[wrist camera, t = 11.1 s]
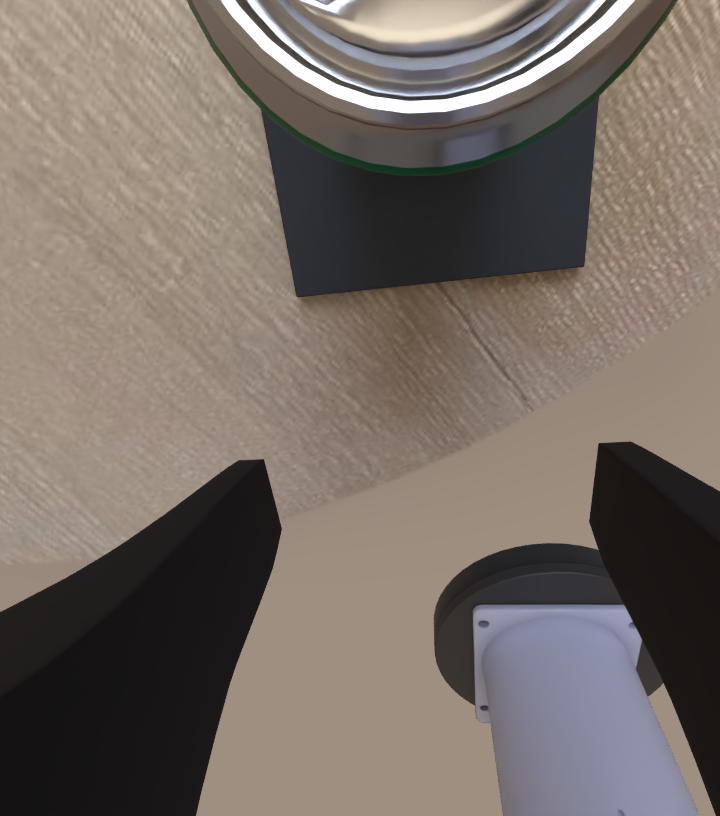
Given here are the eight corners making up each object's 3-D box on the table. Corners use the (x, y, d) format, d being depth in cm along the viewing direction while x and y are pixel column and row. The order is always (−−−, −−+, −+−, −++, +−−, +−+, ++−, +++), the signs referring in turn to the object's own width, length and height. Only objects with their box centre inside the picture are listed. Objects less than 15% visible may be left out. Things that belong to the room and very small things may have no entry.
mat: (580, 264, 16) (584, 267, 15) (299, 294, 17) (296, 297, 17) (624, -274, 10) (633, -294, 10) (214, -162, 12) (206, -175, 12)
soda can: (306, 25, 13) (-142, -573, 3) (477, -84, 12) (1024, -2318, 1) (375, 201, 15) (281, 270, 5) (530, 125, 14) (922, -31, 3)
